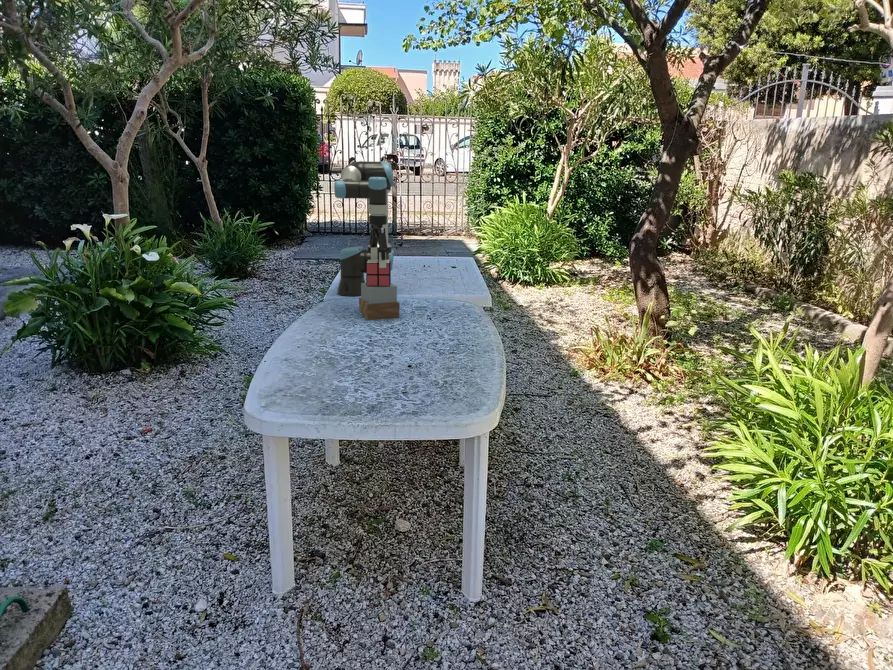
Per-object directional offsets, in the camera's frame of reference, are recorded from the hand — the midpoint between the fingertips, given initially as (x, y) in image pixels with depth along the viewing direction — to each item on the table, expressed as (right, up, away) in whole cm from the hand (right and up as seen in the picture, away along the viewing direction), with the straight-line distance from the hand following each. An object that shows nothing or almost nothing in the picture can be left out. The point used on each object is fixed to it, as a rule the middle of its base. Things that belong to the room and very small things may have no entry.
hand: (378, 265), depth 272 cm
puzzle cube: (0, -8, +2) cm, 8 cm away
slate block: (0, -15, +3) cm, 15 cm away
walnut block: (0, -22, +5) cm, 22 cm away
